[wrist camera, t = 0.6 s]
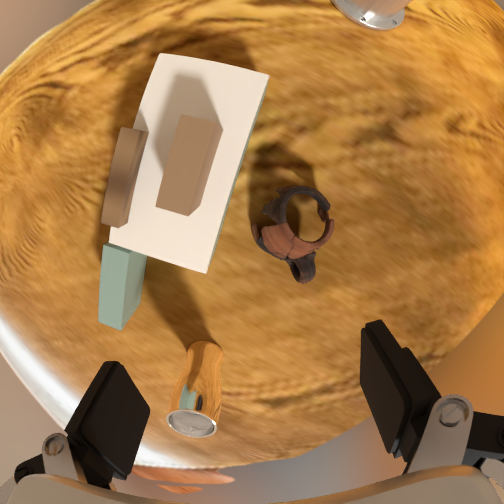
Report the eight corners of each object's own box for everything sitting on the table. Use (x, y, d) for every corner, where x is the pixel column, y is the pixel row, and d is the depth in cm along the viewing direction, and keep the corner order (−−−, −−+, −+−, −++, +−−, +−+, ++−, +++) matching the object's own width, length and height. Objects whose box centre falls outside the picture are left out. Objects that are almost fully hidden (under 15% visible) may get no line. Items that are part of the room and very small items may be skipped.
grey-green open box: (172, 72, 29) (153, 52, 22) (265, 93, 31) (269, 76, 23) (120, 296, 40) (98, 321, 32) (195, 321, 41) (185, 352, 34)
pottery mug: (236, 207, 36) (259, 189, 28) (294, 190, 39) (326, 171, 32) (268, 293, 37) (298, 296, 29) (322, 267, 40) (359, 264, 32)
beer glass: (208, 375, 45) (196, 443, 30) (177, 352, 43) (154, 420, 29) (235, 355, 43) (230, 427, 29) (202, 330, 42) (184, 401, 27)
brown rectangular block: (131, 128, 25) (121, 126, 22) (149, 132, 25) (140, 130, 22) (111, 217, 28) (100, 222, 25) (127, 223, 28) (118, 228, 26)
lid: (165, 59, 24) (141, 33, 17) (268, 81, 25) (273, 56, 18) (116, 237, 31) (84, 258, 23) (208, 266, 32) (196, 297, 25)
